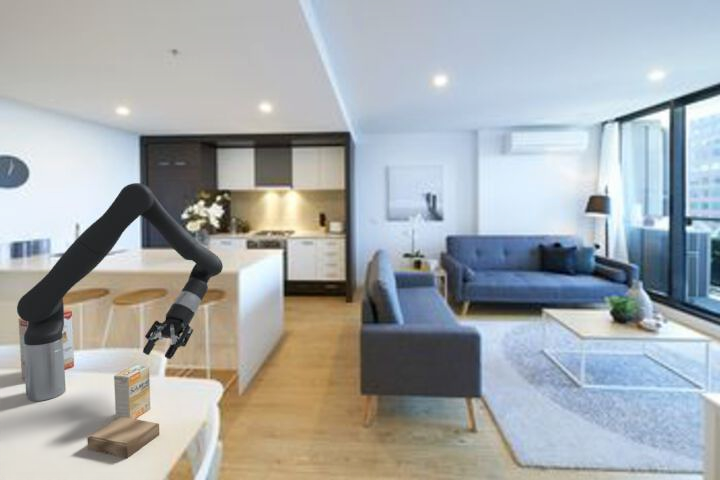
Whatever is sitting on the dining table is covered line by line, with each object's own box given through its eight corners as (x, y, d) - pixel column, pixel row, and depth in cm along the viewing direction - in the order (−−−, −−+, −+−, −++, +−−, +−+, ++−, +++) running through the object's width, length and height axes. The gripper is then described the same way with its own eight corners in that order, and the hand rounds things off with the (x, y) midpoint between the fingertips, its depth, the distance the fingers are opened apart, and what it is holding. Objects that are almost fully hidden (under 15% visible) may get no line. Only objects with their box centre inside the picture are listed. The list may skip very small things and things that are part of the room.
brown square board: (87, 449, 99) (87, 436, 99) (122, 427, 109) (121, 415, 108) (127, 458, 96) (127, 445, 96) (159, 434, 105) (159, 422, 105)
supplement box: (130, 423, 110) (128, 377, 109) (115, 421, 111) (112, 375, 110) (151, 408, 118) (150, 365, 117) (137, 406, 119) (135, 363, 118)
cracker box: (32, 382, 134) (28, 320, 132) (21, 379, 136) (16, 318, 134) (75, 366, 147) (72, 309, 145) (64, 363, 149) (61, 308, 147)
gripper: (160, 300, 131) (130, 346, 121) (195, 304, 126) (167, 353, 116) (173, 312, 136) (146, 357, 127) (207, 317, 131) (182, 364, 122)
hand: (156, 355), depth 121 cm, fingers open, 8 cm apart
